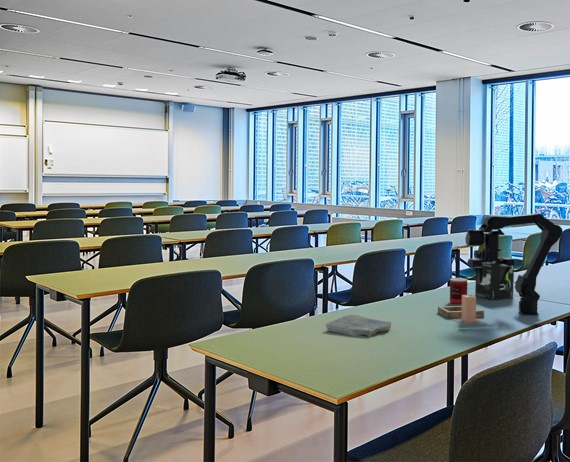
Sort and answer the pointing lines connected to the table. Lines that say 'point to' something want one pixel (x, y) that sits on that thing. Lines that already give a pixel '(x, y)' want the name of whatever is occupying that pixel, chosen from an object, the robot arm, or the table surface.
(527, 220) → the robot arm
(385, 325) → the fossil
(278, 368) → the table surface
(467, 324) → the mat
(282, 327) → the table surface
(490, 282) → the box
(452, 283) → the canned food
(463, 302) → the block
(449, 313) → the tray
